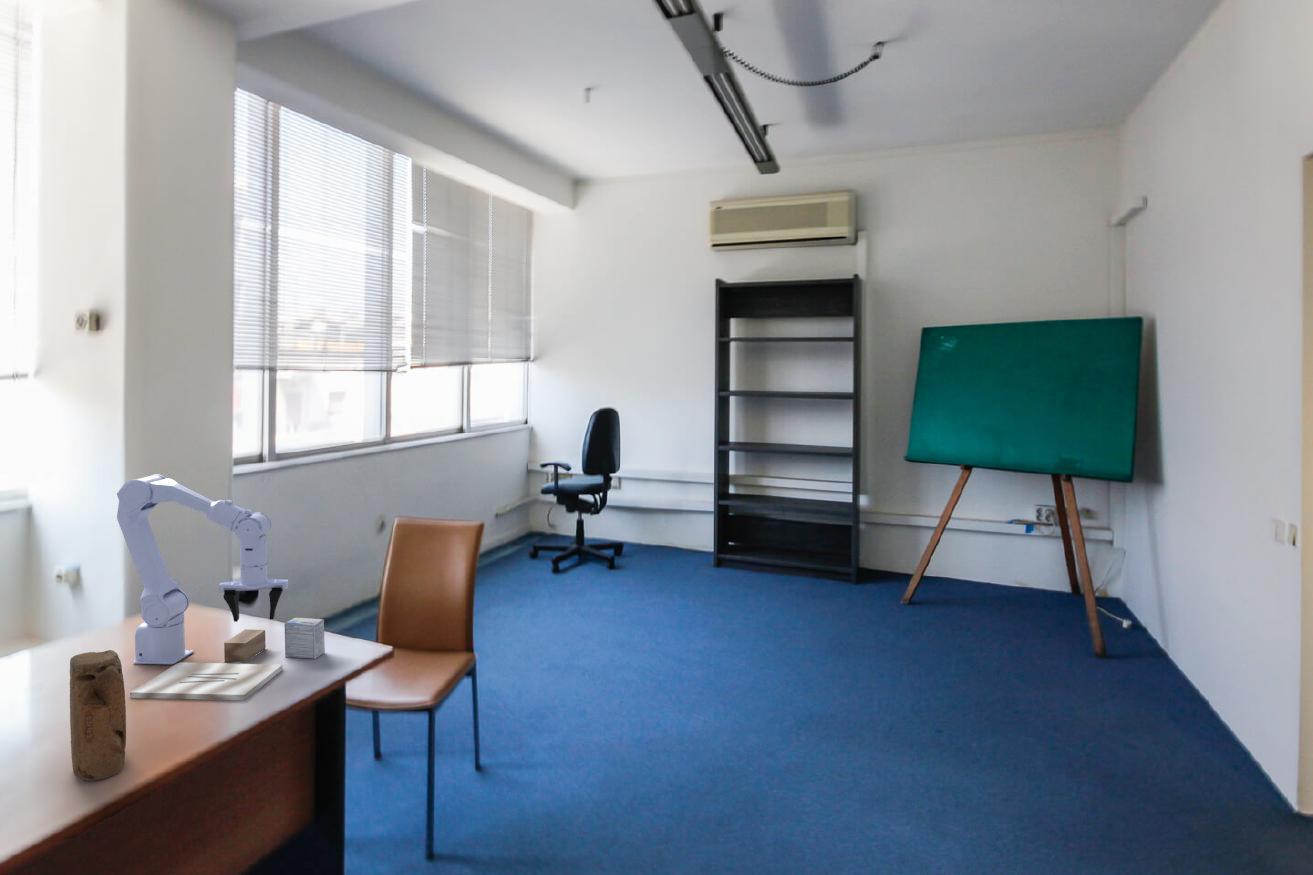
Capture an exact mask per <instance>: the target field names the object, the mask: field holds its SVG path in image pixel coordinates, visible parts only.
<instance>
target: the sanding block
mask: <svg viewBox="0 0 1313 875" xmlns="http://www.w3.org/2000/svg"><path fill="white" fill-rule="evenodd" d="M266 644H267V643H266V629H244V630H242V631H240V632H238V633H237V634H235V635H234V636H232V637H231V638H229V639H227V640H226V641H225V642H224V643H223V646H224V648H223V653H224V654H223V656H224V663H227V662H246V663H247V662H249V661H250V660H252V659H253V658H254V656H255V655H256V654H257V655H259V654H260V653H262V652H264V650H266V649H265V648H267V647H266V646H267V645H266ZM261 651H262V652H261ZM259 652H260V653H259ZM258 653H259V654H258ZM257 655H256V656H257ZM256 656H255V657H256ZM252 657H253V658H252ZM251 658H252V659H251Z"/></svg>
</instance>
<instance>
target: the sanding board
mask: <svg viewBox="0 0 1313 875" xmlns="http://www.w3.org/2000/svg"><path fill="white" fill-rule="evenodd" d="M283 665H284V664H269V663H267V664H266V663H265V664H263V663H259V664H258V663H227V662H223V663H222V662H221V663H219V662H185V661H184V662H183V661H182V662H179V661H178V662H176V663H175V664H173V665H172V666H170V667H169V668H168V669H165V670H163V672H161V673H158V675H156V676H154V677H152V678H151V679H149V680H147V681H146V682H144V683H142V684H141V685H139V686H137V687H136V688H135V689H133V690H131V691H129V698H131V699H161V700H162V699H166V700H167V699H169V700H170V699H171V700H210V701H211V700H212V701H213V700H215V701H246V700H247V699H248V698H249V697H251V695H253V694H255V692H257V691H258V690H259V689H260V688H262V687H263V686H264V685H265V684H267V683H268V682H269V681H270V680H272V679H273V678H274V677H275V676H277V675H279V673H281V671H283V668H284V667H283ZM276 674H277V675H276Z"/></svg>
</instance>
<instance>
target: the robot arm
mask: <svg viewBox="0 0 1313 875" xmlns="http://www.w3.org/2000/svg"><path fill="white" fill-rule="evenodd" d="M116 496H117V498H118V505H117V506H118V507H117V513H116V514H117V515H116V519H117V523H118V525H119V527H120V530H121V533H122V535H123V538H124V540H125V543H126V545H127V549H128V550H129V553H130V556H131V559H132V561H133V563H134V566H135V568H136V571H137V574H138V576H139V579H140V582H141V584H142V586H143V591H142V593H141V595H140V598H139V601H140V604H141V610H140V611H141V612H140V615H141V619H142V621H143V622H141V624H140V625H138V627H137V628H136V630H135V635H134V646H135V647H134V648H135V649H134V650H135V654H134V655H135V656H134V657H135V659H134V660H133V662H132V663H133V664H136V665H137V664H139V665H141V664H142V665H175V664H177V663H179V661H181V660H183V659H184V658H186V657H188V656H189V655H191V654H193V653H195V652H194V649H186V636H185V635H186V633H185V632H186V631H185V628H186V627H185V612H186V611H187V610H188V608H189V606H190V599H189V596H188V594H187V593H186V592H185V591H184V590H182V588H181V586H180V583H178V582H177V581H175V580H174V579H172V578H171V576H170V574H169V572H168V569H167V566H166V564H165V561H164V558H163V555H162V554H161V551H160V548H159V546H158V543H157V540H156V538H155V536H154V533H153V530H152V527H151V524H150V522H149V518H148V517H149V515H150V514H151V512H152V511H153V510H154V509H155V507H156V506H157V505H158V504H160V503H168V502H172V503H175V504H178V505H181V506H183V507H186V508H189V509H192V510H194V511H196V512H199V513H202V514H204V515H205V516H206V518H207V520H208V522H210V523H212V524H215V525H216V526H219V527H222V528H223V529H225V530H228V531H230V532H232V533H235V535H236V538H238V539H239V540H240V541H239V542H240V545H239V554H240V555H239V556H240V558H239V559H240V560H239V562H240V570H239V572H240V575H239V576H240V580H233V581H226V582H225V581H224V582H220V583H219V584H218V593H223V596H222V597H223V599H224V601H225V602H226V604H227V606H228V608H229V609H230V612H231V614H232V619H233V622H234V623H235V622H236V623H237V622H238V621H239V620H240V604H239V603H240V600H239V599H240V591H242V592H243V591H261V590H262V591H263V590H270V591H269V593H268V595H269V606H270V607H269V620H274V619H275V616H276V609H277V605H278V603H279V600H280V597H281V596H282V593H283V592H284V590H288V588H289V579H279V578H278V579H276V578H269V577H268V534H267V533H269V531H270V530H271V527H272V522H271V519H270V517H268V516H267V515H266V514H264V513H263V512H261V511H257V512H253V513H252V511H253V510H251V509H249V508H246V509H245V508H242V507H240V506H238V505H235V504H234V501H233V500H230V499H225V500H224V499H220V500H216V501H214V500H212V499H210V498H208V497H206V496H203V495H202V494H200V493H198V492H196V491H194V490H192V489H191V488H188V487H186V486H184V485H182V484H180V483H178V482H177V481H176V480H175V479H172V478H167V477H166V476H164V475H162V474H159V473H158V474H151V475H149V476H144V477H139V478H137V479H129V480H128V481H126V482H125V483H124V484H122V486H121V487H120V489H119V490H118V492H117V493H116Z"/></svg>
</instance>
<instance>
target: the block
mask: <svg viewBox="0 0 1313 875" xmlns="http://www.w3.org/2000/svg"><path fill="white" fill-rule="evenodd" d="M69 660H70V661H69V723H70V724H69V725H70V726H69V727H70V729H69V730H70V748H71V749H70V750H71V764H72V770H73V774H74V775H76V776H77V777H79V778H80V779H81V780H82V781H87V782H89V781H98V780H103V779H107V778H109V777H111V776H113V775H115V774H117V773H119V772H120V770H121V769H122V768H123V766H124V764H125V759H126V751H125V750H126V743H127V742H126V741H127V714H126V713H127V709H126V692H125V691H126V690H125V680H124V675H123V669H122V668H123V667H122V661H121V659H120V658H119V654H118V653H117V652H116V651H115V650H113V649H109V650H105V651H100V652H99V651H97V652H96V651H88V652H83V653H79V654H75V655H74V656H72V657H71V658H70V659H69Z"/></svg>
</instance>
